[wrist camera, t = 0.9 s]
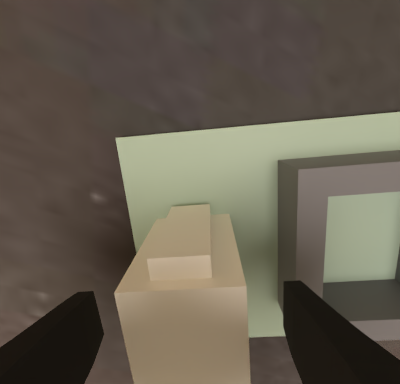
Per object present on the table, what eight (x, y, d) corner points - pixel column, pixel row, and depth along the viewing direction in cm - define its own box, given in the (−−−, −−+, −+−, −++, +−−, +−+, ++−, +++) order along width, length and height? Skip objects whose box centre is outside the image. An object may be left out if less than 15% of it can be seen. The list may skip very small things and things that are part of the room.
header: (414, 320, 15) (477, 378, 11) (154, 330, 16) (139, 387, 12) (455, 106, 11) (561, 97, 8) (121, 137, 12) (87, 140, 9)
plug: (232, 277, 14) (250, 386, 8) (166, 280, 14) (135, 389, 8) (228, 199, 12) (245, 262, 7) (154, 205, 13) (108, 270, 7)
